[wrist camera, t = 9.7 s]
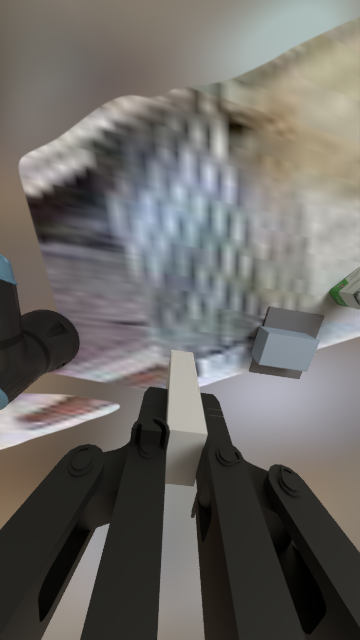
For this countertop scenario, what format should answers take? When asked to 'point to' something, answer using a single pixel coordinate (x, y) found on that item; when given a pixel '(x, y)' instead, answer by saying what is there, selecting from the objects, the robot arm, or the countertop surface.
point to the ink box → (348, 291)
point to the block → (284, 348)
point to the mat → (292, 323)
